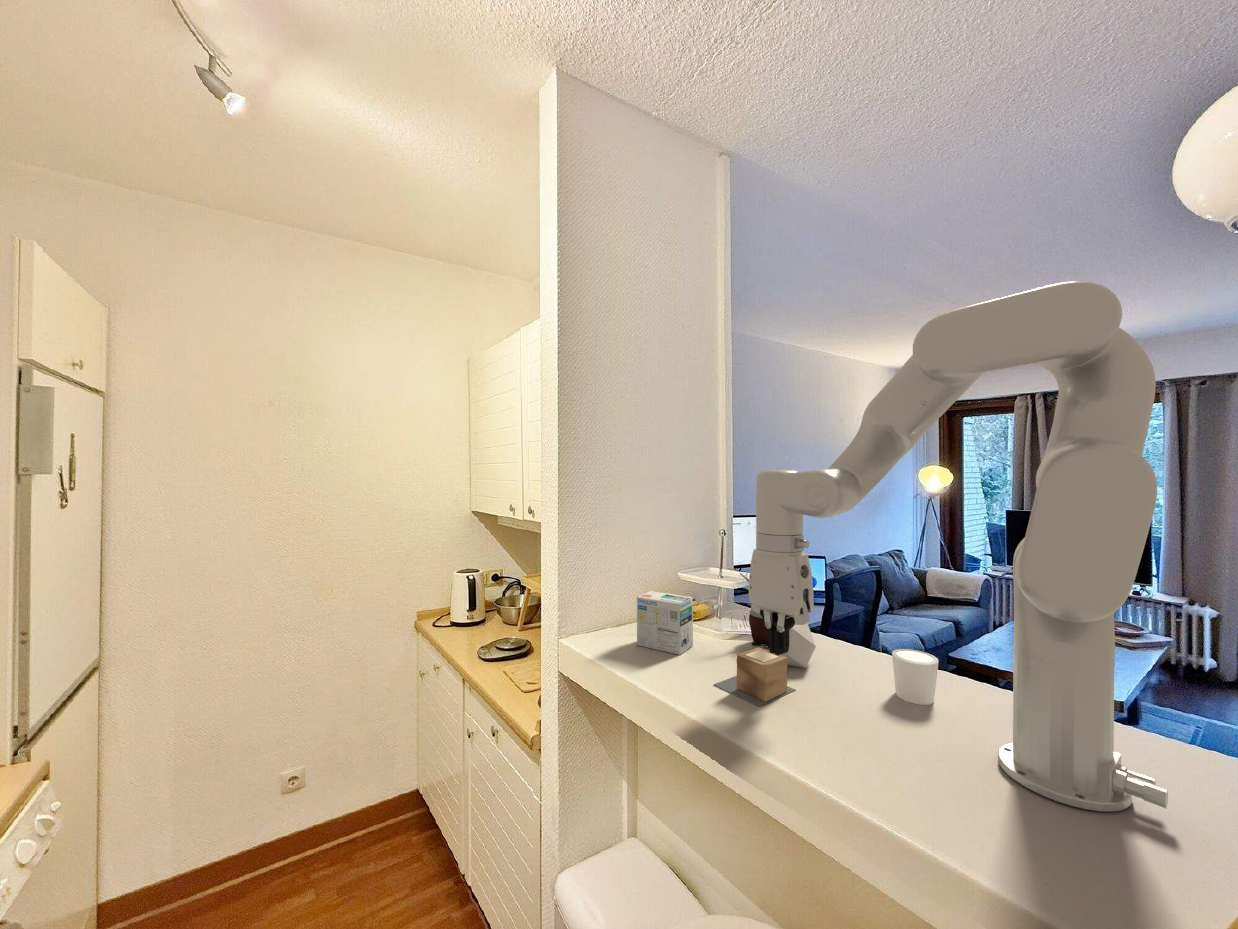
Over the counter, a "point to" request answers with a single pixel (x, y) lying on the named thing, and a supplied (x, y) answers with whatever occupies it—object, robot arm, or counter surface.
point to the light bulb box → (665, 622)
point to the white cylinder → (915, 676)
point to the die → (800, 646)
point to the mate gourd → (758, 627)
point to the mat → (731, 687)
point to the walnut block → (761, 674)
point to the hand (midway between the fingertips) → (778, 652)
